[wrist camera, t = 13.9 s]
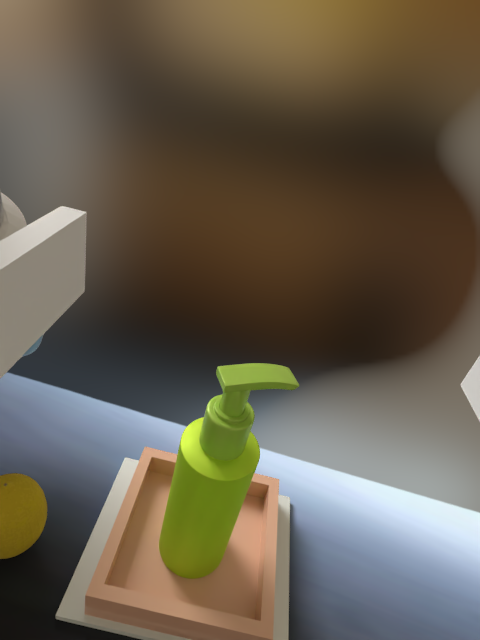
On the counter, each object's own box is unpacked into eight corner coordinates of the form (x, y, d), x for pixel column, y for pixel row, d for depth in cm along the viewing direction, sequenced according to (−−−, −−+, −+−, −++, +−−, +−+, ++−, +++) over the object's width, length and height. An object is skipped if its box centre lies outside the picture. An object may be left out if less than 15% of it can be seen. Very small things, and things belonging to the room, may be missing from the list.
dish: (84, 614, 32) (85, 595, 30) (142, 465, 44) (144, 446, 42) (262, 656, 32) (272, 639, 30) (271, 497, 44) (279, 479, 42)
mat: (55, 619, 31) (55, 615, 31) (124, 461, 44) (125, 457, 44) (285, 673, 32) (288, 670, 31) (288, 500, 45) (289, 497, 44)
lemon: (57, 554, 35) (56, 497, 31) (-18, 592, 32) (-30, 534, 28) (37, 502, 39) (33, 444, 34) (-33, 532, 35) (-47, 472, 31)
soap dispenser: (243, 568, 36) (315, 402, 26) (164, 586, 34) (209, 409, 23) (225, 507, 41) (280, 344, 30) (154, 518, 38) (188, 345, 28)
